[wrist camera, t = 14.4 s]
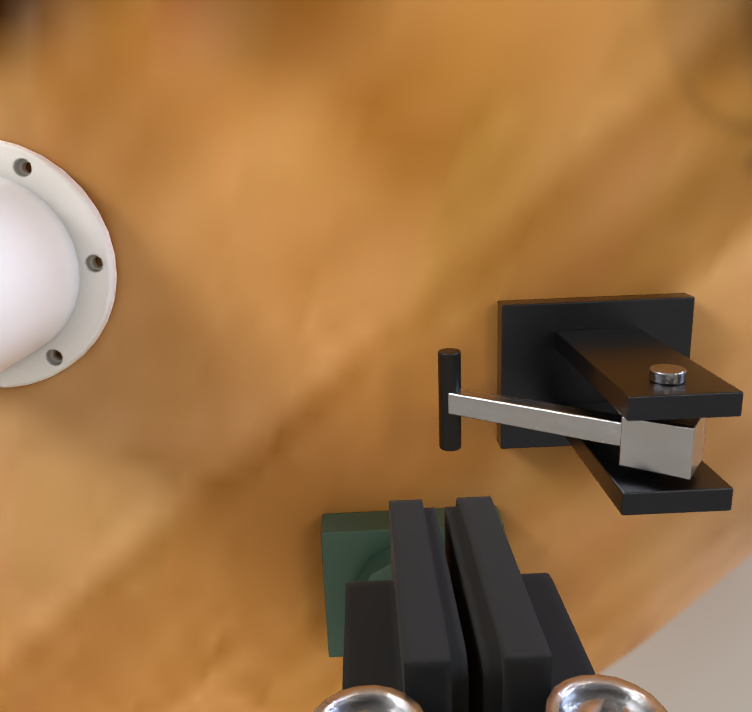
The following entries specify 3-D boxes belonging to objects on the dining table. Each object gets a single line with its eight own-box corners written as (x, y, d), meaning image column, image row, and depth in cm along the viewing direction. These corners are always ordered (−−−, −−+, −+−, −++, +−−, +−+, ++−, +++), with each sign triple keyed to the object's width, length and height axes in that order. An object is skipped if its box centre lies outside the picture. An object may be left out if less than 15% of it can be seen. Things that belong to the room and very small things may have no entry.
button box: (330, 633, 44) (327, 679, 40) (322, 513, 41) (318, 550, 38) (495, 625, 44) (508, 670, 40) (496, 505, 41) (510, 541, 38)
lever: (452, 437, 37) (428, 453, 35) (451, 343, 36) (426, 355, 34) (700, 489, 31) (687, 513, 29) (710, 377, 29) (697, 393, 27)
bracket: (496, 440, 40) (550, 553, 29) (497, 300, 38) (556, 362, 27) (674, 433, 41) (796, 541, 29) (685, 292, 38) (822, 350, 27)
